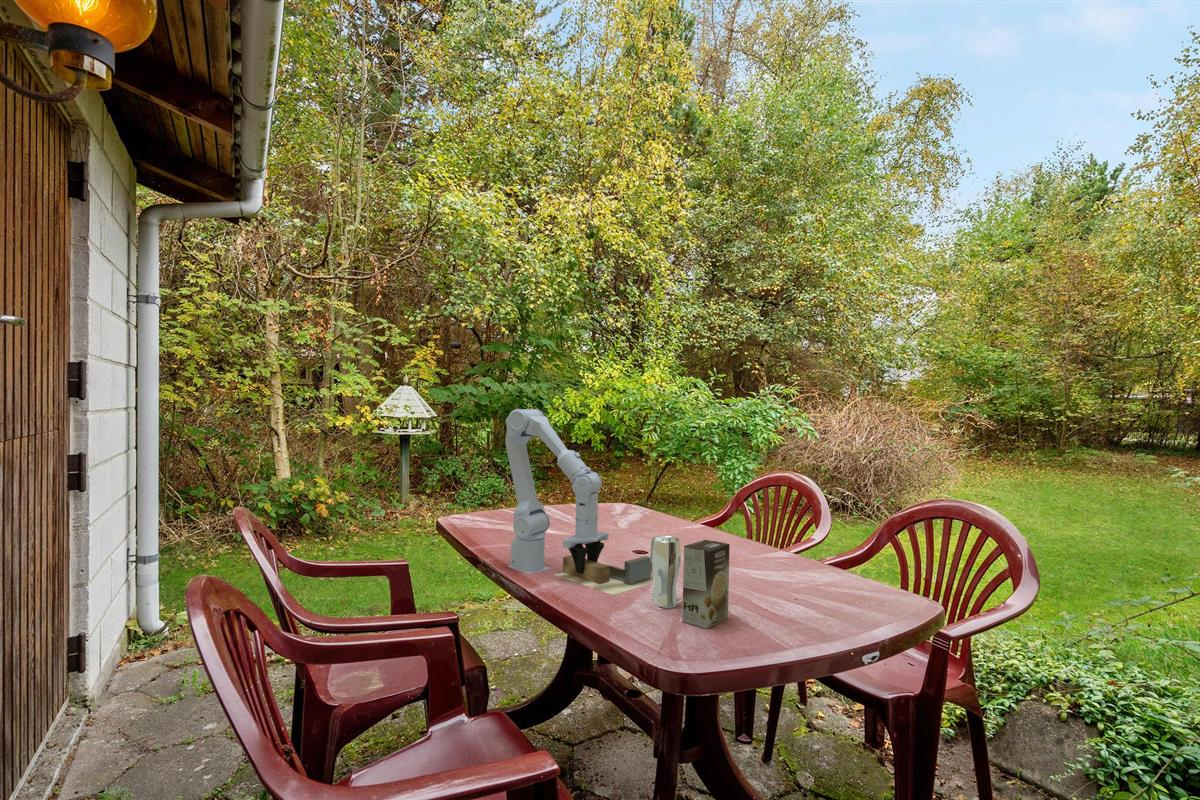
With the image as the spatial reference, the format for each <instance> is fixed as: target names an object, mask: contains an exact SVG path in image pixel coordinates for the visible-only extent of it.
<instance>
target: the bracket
mask: <svg viewBox="0 0 1200 800" xmlns="http://www.w3.org/2000/svg"><path fill="white" fill-rule="evenodd" d="M610 565H611V566H610V578H612V579H615V580H619V581H622V582H624V583H625V584H628V585H633V584H636V583H639V582H642V581H646V580H649V579H651V577H652V572H651V564H650V556H646V555H645V556H641V557H638V558H634V559H629V560H625V561H624V568H623V569H622V567H619V566H616V567H615V565H612V564H610Z"/></svg>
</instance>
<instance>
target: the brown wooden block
mask: <svg viewBox="0 0 1200 800" xmlns="http://www.w3.org/2000/svg"><path fill="white" fill-rule="evenodd" d="M602 563H603V562H598V561H597V562H595V561H591V560H588V559H587V558H585V567H584V573H583V574H580V573H577V572H576V568H575V563H574V560H573V557H572V555H571V554H570V555H567V556H564V557H563V558H562V572H564V573H567V574H570V575H573V576H576V577H579V578H582V579H585V580H588V581H591V582H594V583H597V584H603V583H606V582H609V579H610V566H608V565H605V564H606V563H605V564H602Z"/></svg>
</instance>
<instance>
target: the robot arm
mask: <svg viewBox="0 0 1200 800" xmlns="http://www.w3.org/2000/svg"><path fill="white" fill-rule="evenodd" d="M505 425H506V433H505V441H504V443H505V447H506V453H507V458H508V461H509V462H508V463H509V468H510V472H511V478H512V482H513V486H514V492H515V496H516V500H517V501H516V502H517V505H516V507H515V509H514V511H513V512H512V513H513V523H512V528H513V531H514V534H515V535H516V536H514V537H513V538H512V541H511V543H510V565H508V566H507V567H509V568H512V569H513V570H517V571H519V572H521V573H525V574H534V573H538V572H541V571H547V570H549V569H552V568H551V567H549V566H547V565H545V544H546V541H545V540H546V537H545V536H546V532H547V531H548V530H549V528H550V525H551V520H550V517H549V515H548V514H547V512H546V510H545V506H544V504H543V503H542V502H540V501H539V500H538V495H537V491H536V486H535V481H534V477H533V472H532V467H531V462H530V458H529V454H528V453H529V452H528V449H527V448H528V447H527V445H528V442H529V440H530V439H531V438H532V437H533V436H534V437H538V438H539V439H540V440H541V441H542V442H543V443H544V444H545V445H546V446H547V448H548V449H549V450H550V451H551V452H552V453H553V455H554V456H556V457H557V466H558V467H559V468H560V470H561V471H562V472H563V473H564V475H565V476H566V477H567V478H568V480H569V481H570V482H571V489H572V491H573V493H574V494H575V495H574V496H575V533H574V534H575V535H573V536H569V537H567V538H564V539H562V548H565V549H567V550H569V552H570V556H571V555H572V557H573V560H574V563H575V568H576V572H577V573H580V574H583V573H584V567H585V559H588V560H591V561H595V562H598V561H599V557H600V555H601V552H602V551H603V549H604V548H605V542H601V541H608V540H609V532H608V531H599V532H598V521H599V520H598V514H599V510H598V509H599V493H598V492H599V491H601V489H602V485H603V482H602V478H601V476H600V474H599V473H597V472H595V471H592V469H591V468H590V467H589V466H587V465H586V463H585V462H584V461H583V460H582V458H581V454H580V453H579V452H578V451H577V452H576V450H572V449H568V448H567V447H566V446H565V444H564V442H563V440H561V438H560V436H559V434H557V433H556V430H554V428H553V427H552V426H551V424H550V422H549V419H548V417H546V415H544V413H543V411H542V410H540V409H538V408H533V409H523V408H521V409H520V408H515V409H513V410H512V411H511V412H510V413H509V414H508V416H507V418H505ZM584 546H585V547H584Z"/></svg>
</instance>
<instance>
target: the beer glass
mask: <svg viewBox="0 0 1200 800" xmlns="http://www.w3.org/2000/svg"><path fill="white" fill-rule="evenodd" d="M681 551H682V550H681V539H680V538H679V537H677V536H672V535H655V536H653V537H651V544H650V555H649V557H650V564H651V577H652V578H653V583H652V584H653V587H652V588H653V589H652V597H651V603H652V604H654V605H655V606H659V607H658V608H659V609H665V610H667V609H668V610H671V609H675V608H677V607H679V606H678V605H679V601H678V595H677V587H678V586H677V585H678V580H679V575H680V571H681V570H680V569H681V562H682V561H681V559H682V557H681V556H682V552H681ZM670 608H671V609H670Z"/></svg>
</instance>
